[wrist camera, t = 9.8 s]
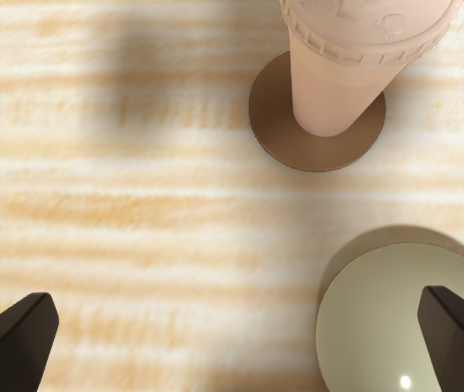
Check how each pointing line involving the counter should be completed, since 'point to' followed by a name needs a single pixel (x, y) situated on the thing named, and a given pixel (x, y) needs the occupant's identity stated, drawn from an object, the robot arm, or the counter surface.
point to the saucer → (382, 319)
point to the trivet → (294, 136)
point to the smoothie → (354, 53)
